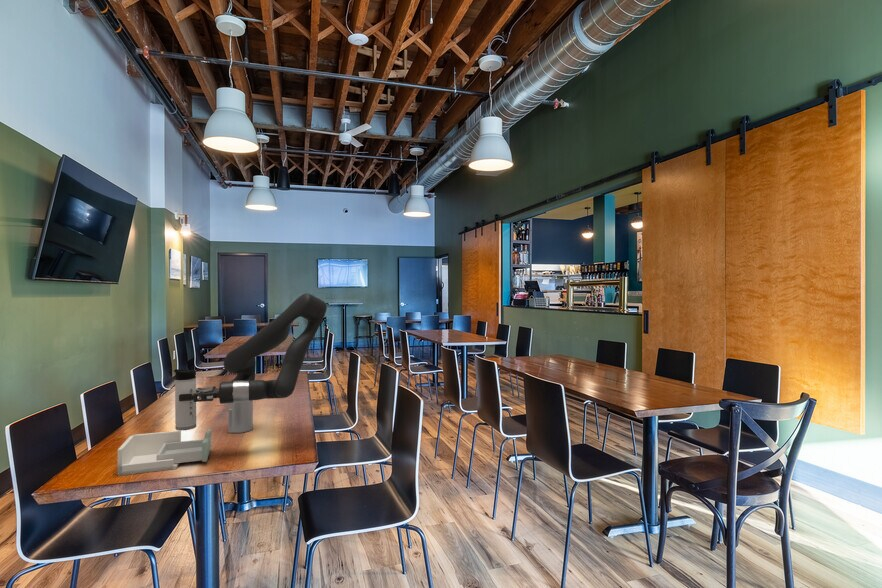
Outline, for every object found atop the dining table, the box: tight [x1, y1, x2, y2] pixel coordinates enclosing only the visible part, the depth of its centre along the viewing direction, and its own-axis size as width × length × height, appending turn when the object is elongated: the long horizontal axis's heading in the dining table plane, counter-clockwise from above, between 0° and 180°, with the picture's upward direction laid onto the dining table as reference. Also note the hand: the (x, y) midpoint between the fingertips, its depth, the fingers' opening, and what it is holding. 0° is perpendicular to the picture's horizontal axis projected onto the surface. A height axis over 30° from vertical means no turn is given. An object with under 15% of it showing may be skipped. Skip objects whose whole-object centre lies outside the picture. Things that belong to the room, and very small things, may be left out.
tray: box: [156, 428, 212, 464], centre depth 158 cm, size 15×17×6 cm
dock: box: [116, 430, 182, 477], centre depth 155 cm, size 16×17×8 cm
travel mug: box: [173, 369, 197, 432], centre depth 158 cm, size 6×7×20 cm
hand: (180, 396), depth 158 cm, fingers closed on travel mug, 6 cm apart
